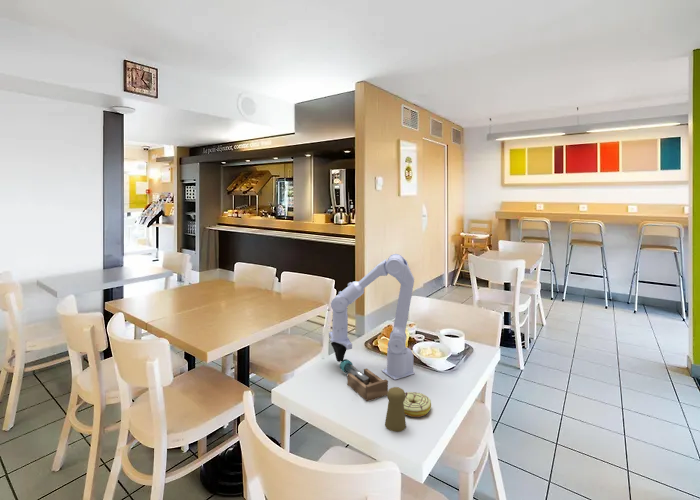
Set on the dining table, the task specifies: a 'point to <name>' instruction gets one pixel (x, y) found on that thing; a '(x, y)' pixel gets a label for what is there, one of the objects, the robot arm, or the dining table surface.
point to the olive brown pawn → (395, 410)
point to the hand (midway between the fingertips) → (339, 360)
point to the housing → (368, 386)
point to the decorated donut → (416, 404)
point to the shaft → (353, 371)
